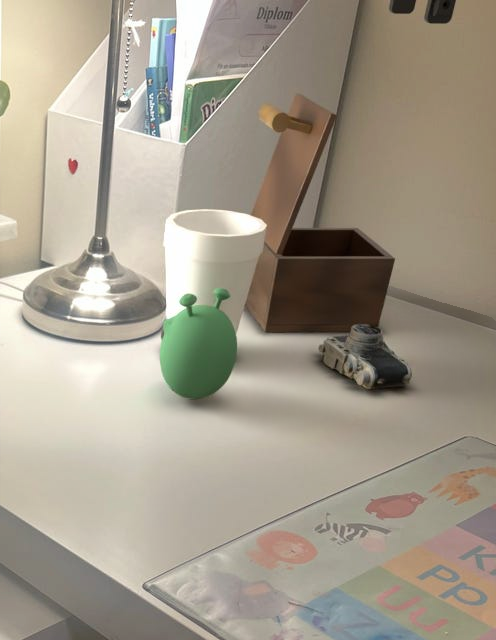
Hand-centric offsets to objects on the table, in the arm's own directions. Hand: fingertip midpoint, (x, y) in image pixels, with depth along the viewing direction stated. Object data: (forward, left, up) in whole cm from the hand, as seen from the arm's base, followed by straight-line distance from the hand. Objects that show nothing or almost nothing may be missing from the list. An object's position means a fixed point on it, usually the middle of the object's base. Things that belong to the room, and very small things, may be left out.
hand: (417, 18), depth 89 cm
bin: (+3, -6, -29) cm, 30 cm away
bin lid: (+7, -6, -14) cm, 17 cm away
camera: (+2, +11, -29) cm, 32 cm away
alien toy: (+21, +16, -29) cm, 40 cm away
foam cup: (+18, +6, -29) cm, 35 cm away
